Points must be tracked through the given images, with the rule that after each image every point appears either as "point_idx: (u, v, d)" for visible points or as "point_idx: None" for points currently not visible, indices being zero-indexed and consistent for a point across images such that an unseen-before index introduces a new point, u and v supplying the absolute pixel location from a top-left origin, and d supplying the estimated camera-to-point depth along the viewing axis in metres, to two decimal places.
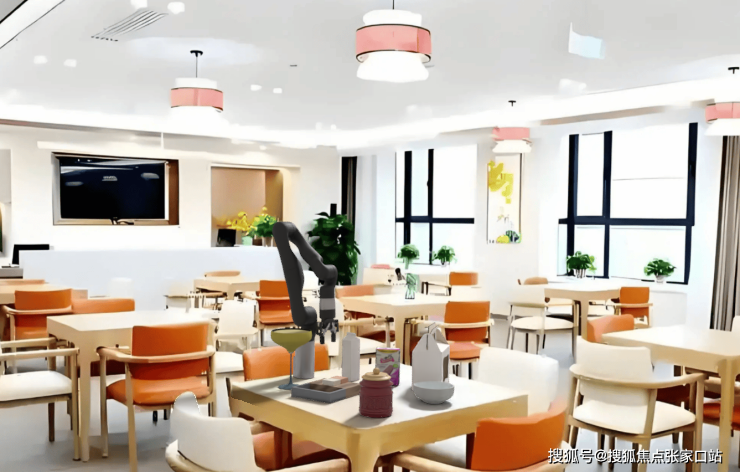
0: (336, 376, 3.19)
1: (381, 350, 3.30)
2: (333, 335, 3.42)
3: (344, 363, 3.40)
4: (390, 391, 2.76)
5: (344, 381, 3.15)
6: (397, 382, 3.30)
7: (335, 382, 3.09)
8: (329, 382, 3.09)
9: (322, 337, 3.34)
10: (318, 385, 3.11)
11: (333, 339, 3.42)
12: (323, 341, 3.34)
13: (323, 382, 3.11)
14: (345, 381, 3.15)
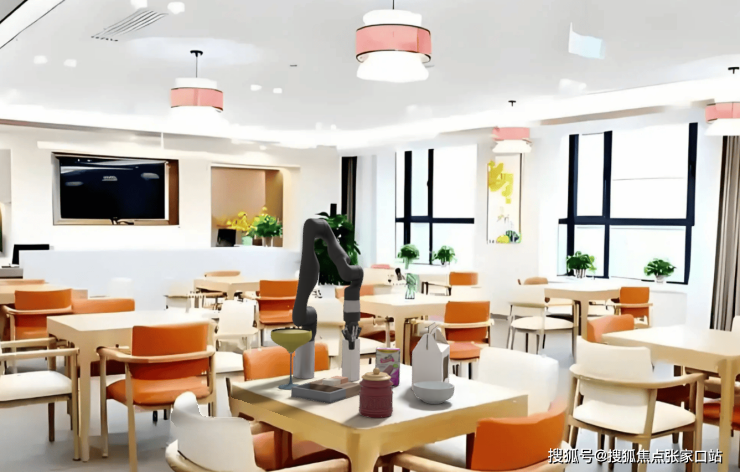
0: (336, 376, 3.19)
1: (381, 350, 3.30)
2: None
3: (344, 363, 3.40)
4: (390, 391, 2.76)
5: (344, 381, 3.15)
6: (397, 382, 3.30)
7: (335, 382, 3.09)
8: (329, 382, 3.09)
9: (351, 342, 3.23)
10: (318, 385, 3.11)
11: None
12: (352, 346, 3.23)
13: (323, 382, 3.11)
14: (345, 381, 3.15)
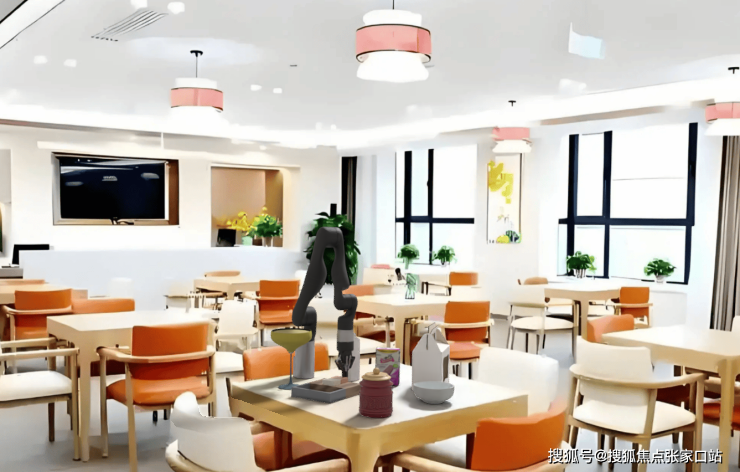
0: (336, 376, 3.19)
1: (381, 350, 3.30)
2: None
3: None
4: (390, 391, 2.76)
5: (344, 381, 3.15)
6: (397, 382, 3.30)
7: (335, 382, 3.09)
8: (329, 382, 3.09)
9: (344, 372, 3.19)
10: (318, 385, 3.11)
11: (345, 376, 3.20)
12: (345, 376, 3.19)
13: (323, 382, 3.11)
14: (345, 381, 3.15)
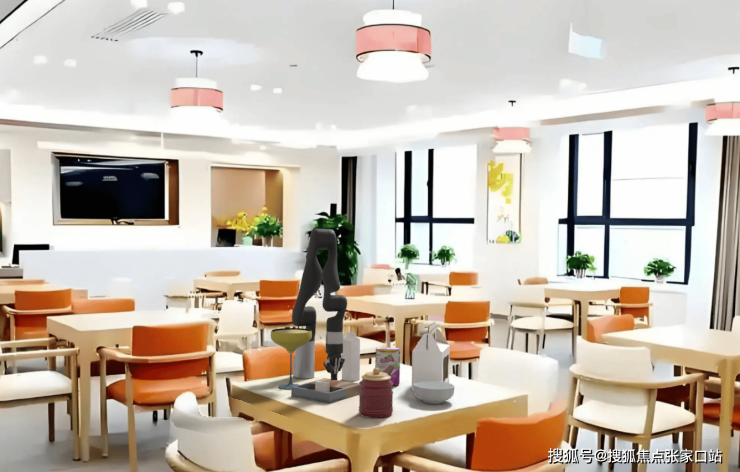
0: (325, 379, 3.12)
1: (381, 350, 3.30)
2: None
3: (344, 363, 3.40)
4: (390, 391, 2.76)
5: (333, 384, 3.08)
6: (397, 382, 3.30)
7: None
8: None
9: (333, 375, 3.12)
10: None
11: (334, 379, 3.13)
12: (334, 379, 3.12)
13: None
14: (334, 384, 3.09)
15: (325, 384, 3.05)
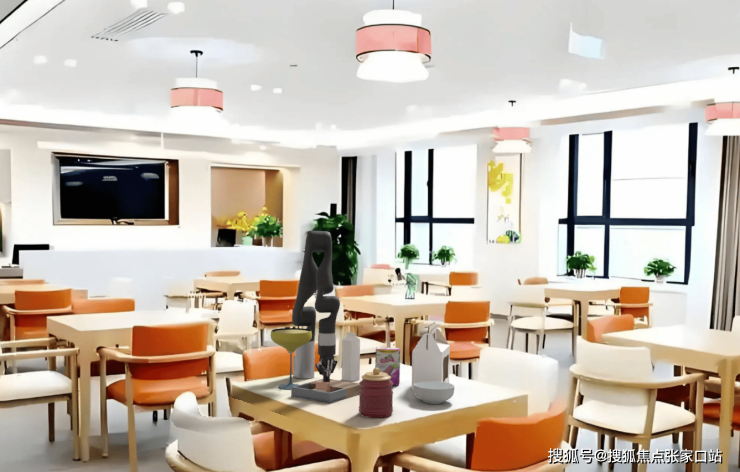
0: (317, 385, 3.07)
1: (381, 350, 3.30)
2: None
3: (344, 363, 3.40)
4: (390, 391, 2.76)
5: (329, 389, 3.05)
6: (397, 382, 3.30)
7: None
8: None
9: (326, 377, 3.07)
10: None
11: (327, 381, 3.09)
12: (327, 381, 3.08)
13: None
14: (329, 387, 3.05)
15: None
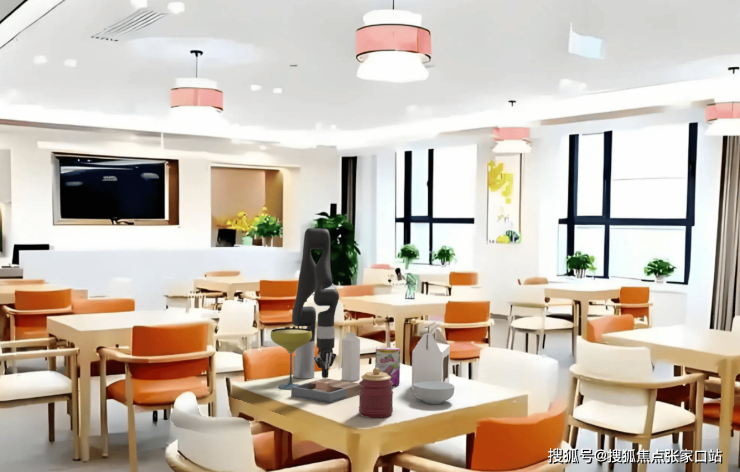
0: (317, 385, 3.07)
1: (381, 350, 3.30)
2: None
3: (343, 363, 3.40)
4: (390, 391, 2.76)
5: (329, 389, 3.05)
6: (397, 382, 3.30)
7: None
8: None
9: (324, 370, 3.07)
10: None
11: None
12: (325, 374, 3.07)
13: None
14: (329, 387, 3.05)
15: None
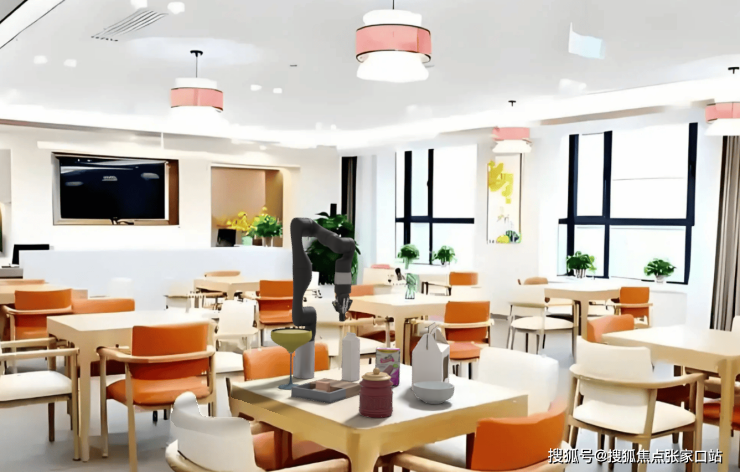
0: (317, 385, 3.07)
1: (381, 350, 3.30)
2: None
3: (344, 363, 3.40)
4: (390, 391, 2.76)
5: (329, 389, 3.05)
6: (397, 382, 3.30)
7: None
8: None
9: (342, 314, 3.25)
10: None
11: None
12: (342, 318, 3.25)
13: None
14: (329, 387, 3.05)
15: None
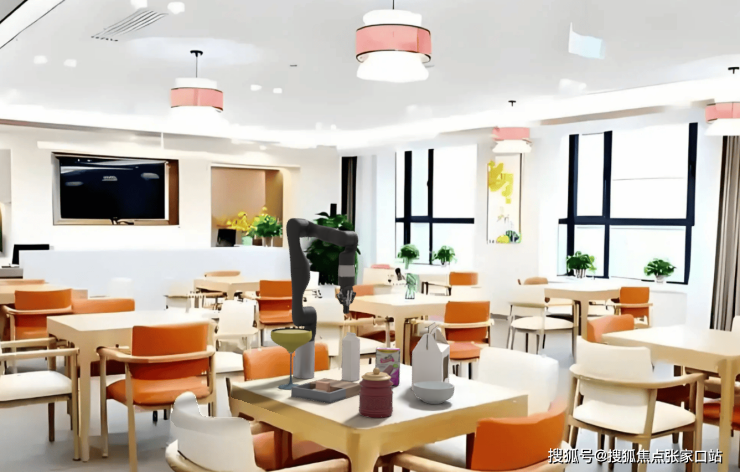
0: (317, 385, 3.07)
1: (381, 350, 3.30)
2: None
3: (344, 363, 3.40)
4: (390, 391, 2.76)
5: (329, 389, 3.05)
6: (397, 382, 3.30)
7: None
8: None
9: (346, 306, 3.29)
10: None
11: None
12: (346, 310, 3.29)
13: None
14: (329, 387, 3.05)
15: None
